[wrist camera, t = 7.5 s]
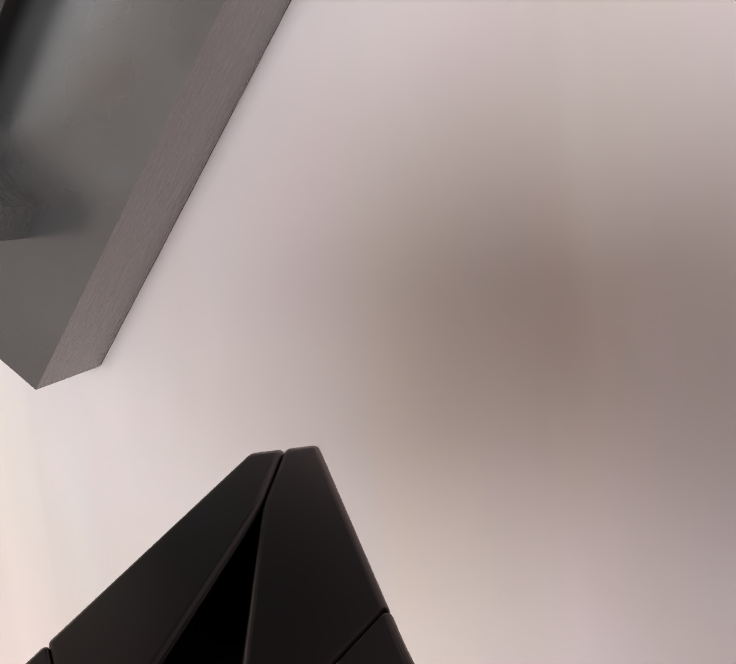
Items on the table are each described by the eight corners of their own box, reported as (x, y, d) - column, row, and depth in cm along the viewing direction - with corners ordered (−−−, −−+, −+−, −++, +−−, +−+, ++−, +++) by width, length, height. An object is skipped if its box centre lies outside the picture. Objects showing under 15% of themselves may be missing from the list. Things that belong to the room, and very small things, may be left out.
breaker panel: (365, -143, 19) (271, -261, 14) (99, 366, 25) (-31, 414, 20) (41, -353, 20) (-149, -529, 15) (-130, 173, 27) (-304, 173, 22)
